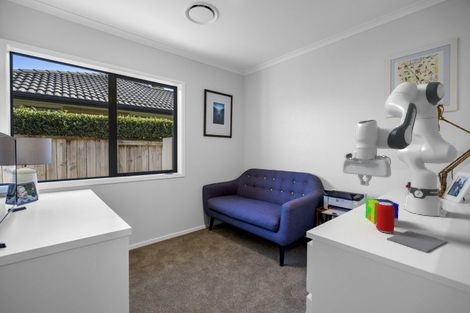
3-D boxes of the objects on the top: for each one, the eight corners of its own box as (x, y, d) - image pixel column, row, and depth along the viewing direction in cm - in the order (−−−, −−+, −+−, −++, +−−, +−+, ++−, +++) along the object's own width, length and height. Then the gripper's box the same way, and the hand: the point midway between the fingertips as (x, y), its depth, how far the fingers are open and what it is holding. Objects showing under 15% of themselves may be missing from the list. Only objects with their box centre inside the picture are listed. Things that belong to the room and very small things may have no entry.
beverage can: (377, 227, 95) (377, 201, 95) (394, 231, 91) (395, 203, 91) (375, 231, 90) (376, 203, 90) (393, 235, 86) (394, 206, 86)
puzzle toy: (398, 225, 98) (398, 204, 98) (374, 223, 100) (374, 202, 100) (387, 218, 108) (387, 199, 108) (365, 217, 110) (366, 198, 110)
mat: (408, 231, 91) (408, 230, 91) (447, 242, 80) (447, 240, 80) (386, 239, 82) (387, 238, 82) (426, 252, 71) (426, 251, 71)
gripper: (394, 155, 90) (393, 188, 90) (348, 154, 108) (347, 181, 108) (387, 155, 87) (385, 189, 87) (341, 154, 105) (340, 182, 105)
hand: (364, 185), depth 98 cm, fingers closed
